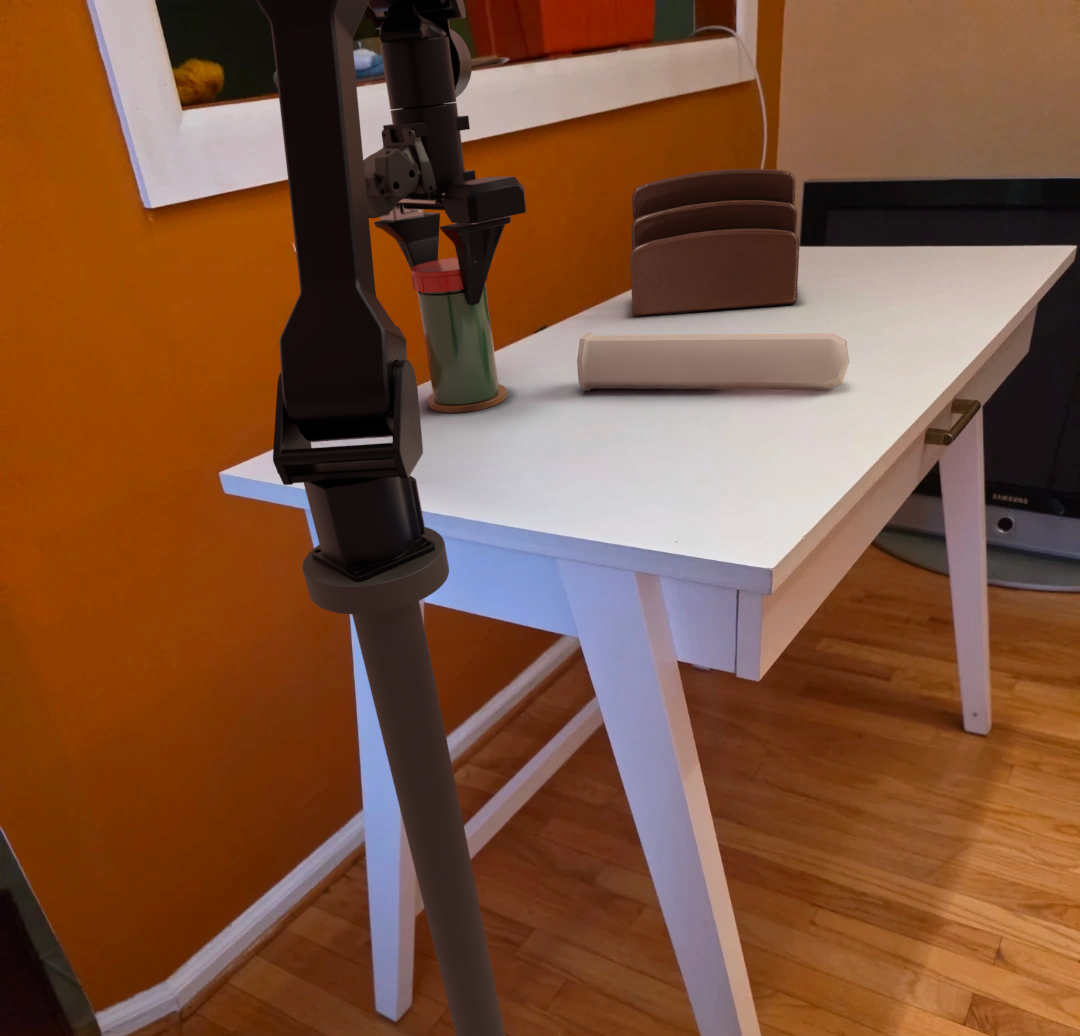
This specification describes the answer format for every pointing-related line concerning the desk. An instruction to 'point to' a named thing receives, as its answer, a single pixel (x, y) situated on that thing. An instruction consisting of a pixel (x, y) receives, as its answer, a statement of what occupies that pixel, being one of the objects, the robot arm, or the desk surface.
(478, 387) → the jar
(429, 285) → the lid
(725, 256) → the letter holder
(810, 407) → the desk surface
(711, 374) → the tube
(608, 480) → the desk surface
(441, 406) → the disc
